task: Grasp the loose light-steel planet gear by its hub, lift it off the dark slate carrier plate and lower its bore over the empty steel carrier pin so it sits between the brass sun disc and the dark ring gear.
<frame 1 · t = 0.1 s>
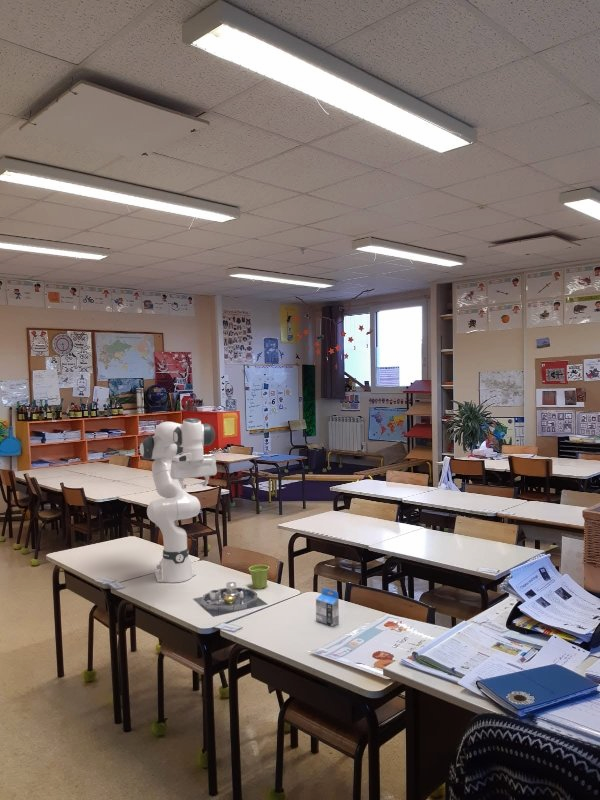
hand: (194, 487, 260), 48 cm above the table, fingers open, 8 cm apart
carrier: (229, 604, 251), on the table
plant pot: (259, 587, 272), on the table
planet gear: (215, 604, 247), point 1 cm above the table, touching carrier
label tape box: (327, 622, 228), on the table
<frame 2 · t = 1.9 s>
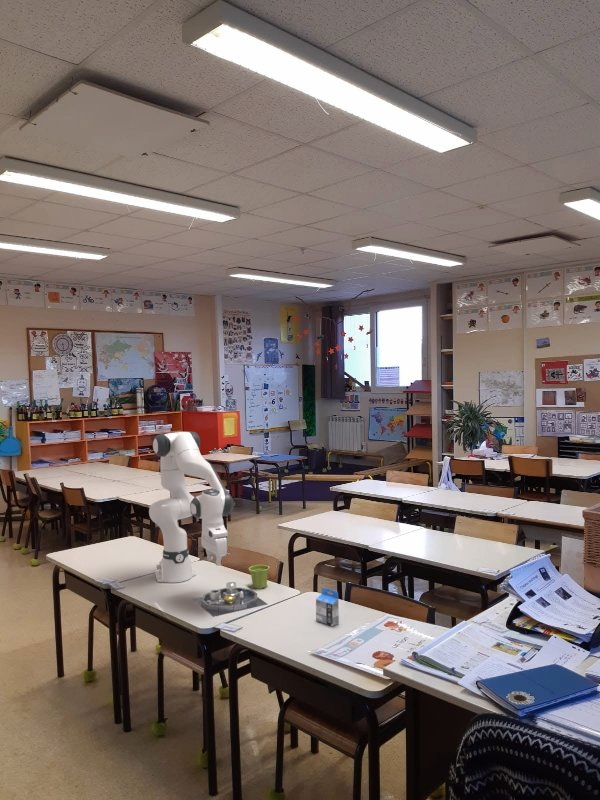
hand: (214, 562, 247), 19 cm above the table, fingers open, 8 cm apart
nothing on the table moved.
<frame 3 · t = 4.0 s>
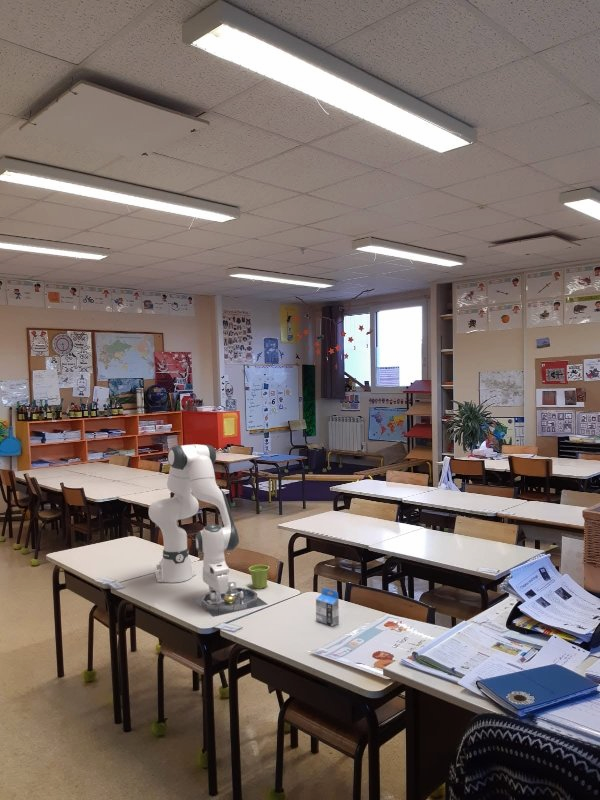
hand: (215, 598, 247), 4 cm above the table, fingers closed on planet gear, 4 cm apart
planet gear: (215, 604, 247), point 1 cm above the table, touching carrier, gripper
everything else where it was.
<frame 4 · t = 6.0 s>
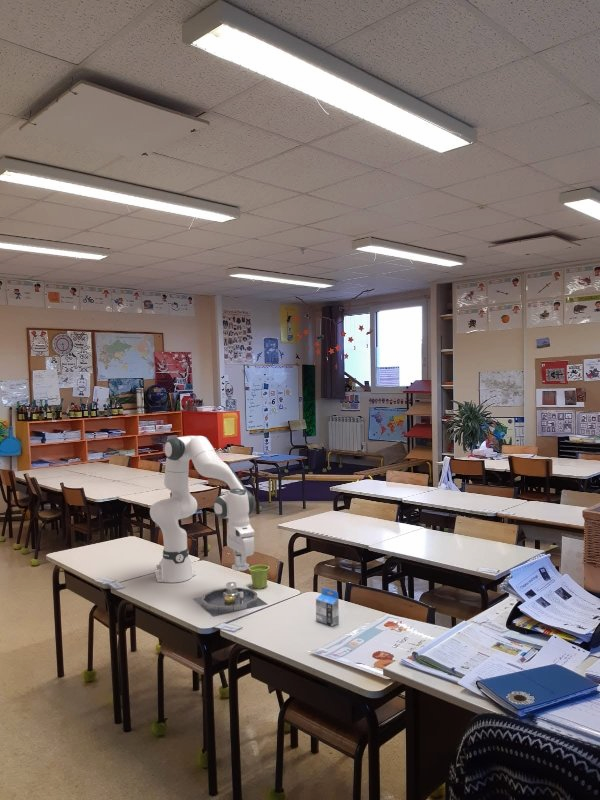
hand: (240, 561, 247), 19 cm above the table, fingers closed on planet gear, 4 cm apart
planet gear: (240, 568, 247), point 16 cm above the table, touching gripper
everything else where it was.
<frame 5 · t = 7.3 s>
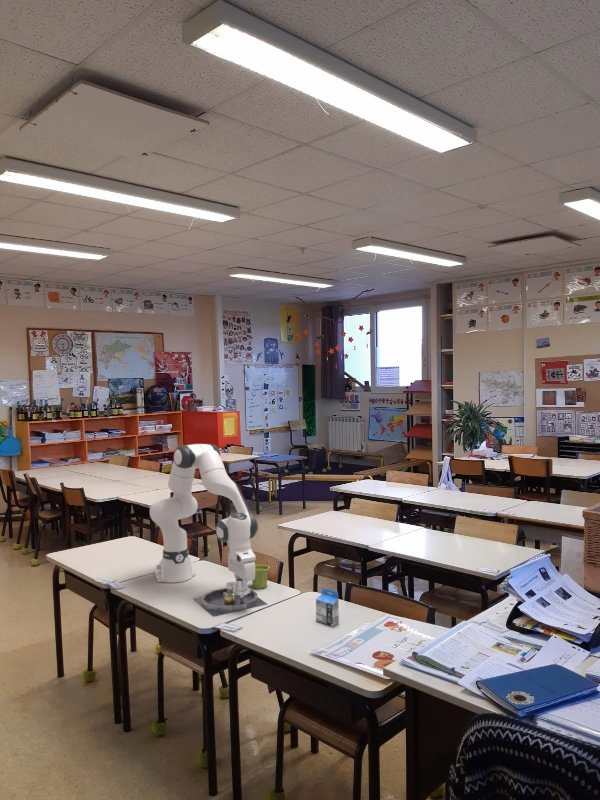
hand: (241, 586, 247), 9 cm above the table, fingers closed on planet gear, 4 cm apart
planet gear: (241, 592, 247), point 6 cm above the table, touching gripper
everything else where it was.
when the fingers open (5 cm above the table, at t = 8.3 s): planet gear drops 1 cm, resting on carrier.
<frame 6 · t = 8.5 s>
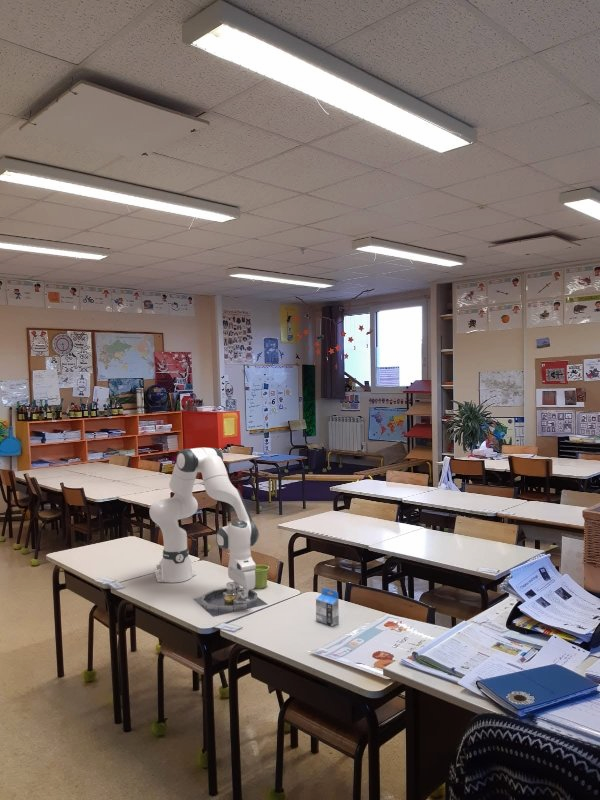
hand: (241, 594, 247), 5 cm above the table, fingers open, 6 cm apart
planet gear: (241, 603, 247), point 1 cm above the table, touching carrier
everything else where it was.
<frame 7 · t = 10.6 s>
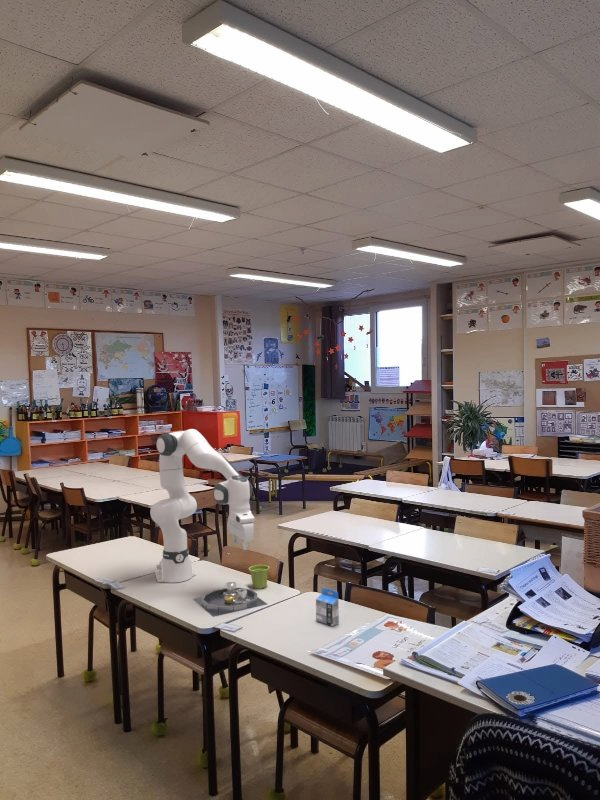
hand: (240, 546, 253), 23 cm above the table, fingers open, 8 cm apart
nothing on the table moved.
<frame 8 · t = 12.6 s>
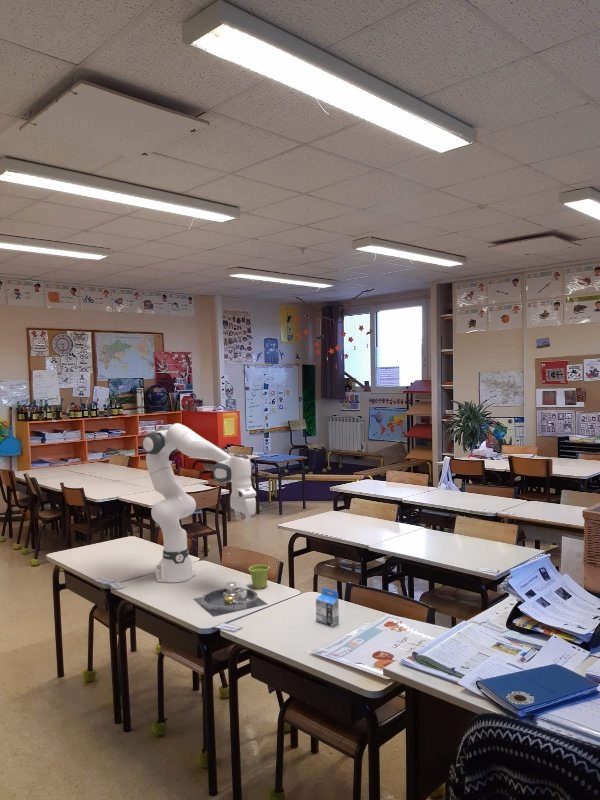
hand: (242, 521, 265), 31 cm above the table, fingers open, 8 cm apart
nothing on the table moved.
at the end: planet gear 0.1 cm from the target spot on the carrier, point 1.2 cm above the carrier's base; planet gear tilted 0°; the gripper is holding nothing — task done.
